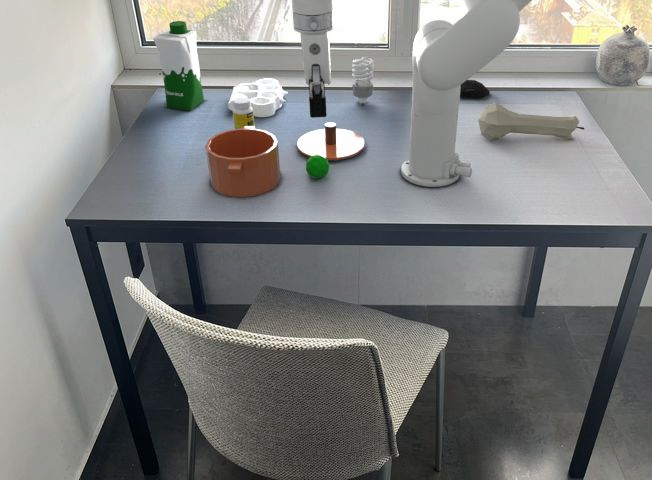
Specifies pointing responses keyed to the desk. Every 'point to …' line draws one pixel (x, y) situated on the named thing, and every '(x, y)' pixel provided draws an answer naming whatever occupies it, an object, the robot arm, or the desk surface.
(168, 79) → the milk carton
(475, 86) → the gaming mouse
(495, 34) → the robot arm
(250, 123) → the supplement bottle
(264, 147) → the pot
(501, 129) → the faceted club
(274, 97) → the white muffin tray
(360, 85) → the light bulb
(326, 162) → the polyhedron
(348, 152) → the pot lid
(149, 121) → the desk surface
